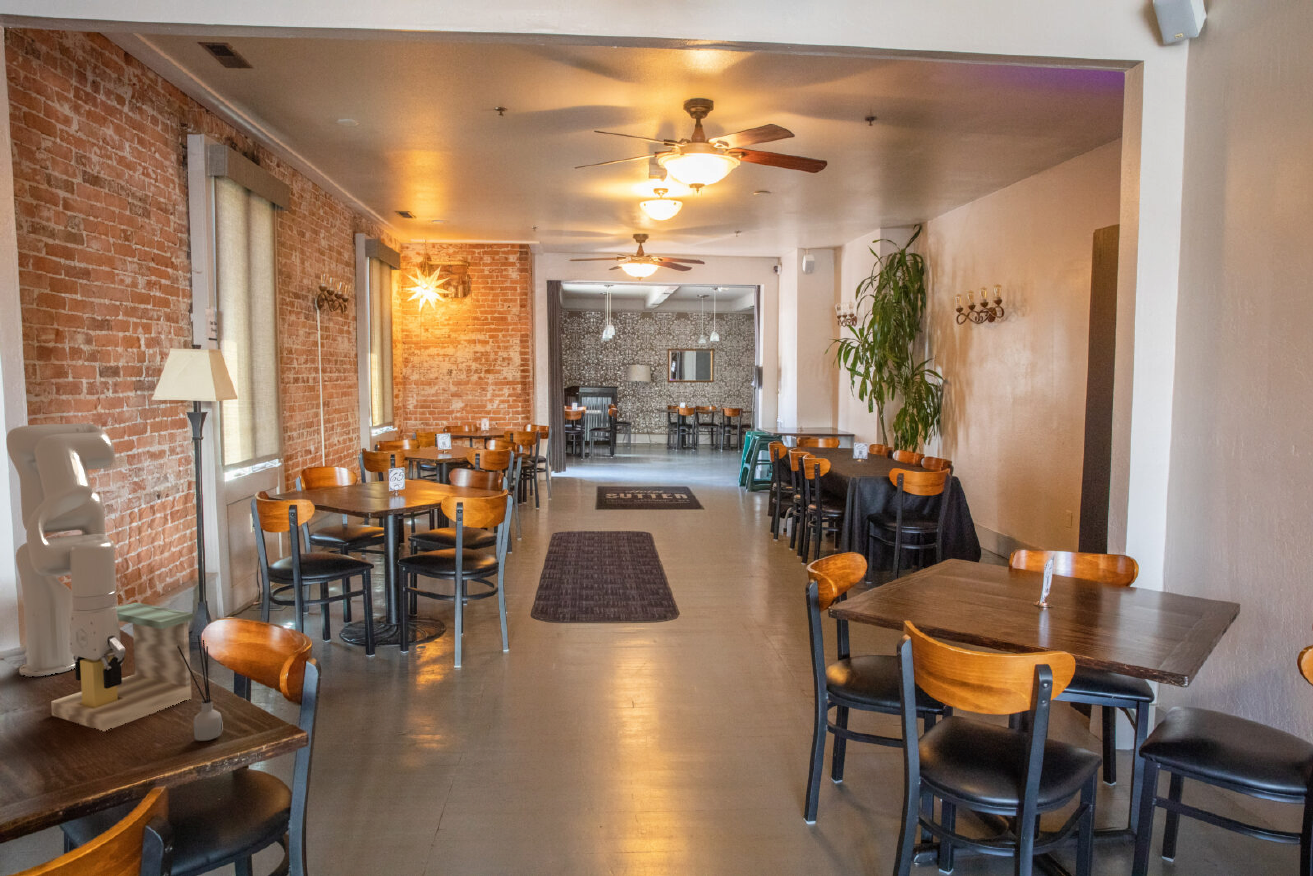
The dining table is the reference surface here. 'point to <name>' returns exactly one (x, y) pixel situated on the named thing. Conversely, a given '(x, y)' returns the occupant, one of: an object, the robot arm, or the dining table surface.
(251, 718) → the dining table surface
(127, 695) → the green-topped stand
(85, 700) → the peg
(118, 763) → the dining table surface
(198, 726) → the reed diffuser
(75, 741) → the dining table surface
